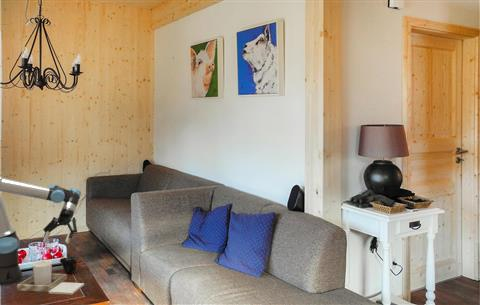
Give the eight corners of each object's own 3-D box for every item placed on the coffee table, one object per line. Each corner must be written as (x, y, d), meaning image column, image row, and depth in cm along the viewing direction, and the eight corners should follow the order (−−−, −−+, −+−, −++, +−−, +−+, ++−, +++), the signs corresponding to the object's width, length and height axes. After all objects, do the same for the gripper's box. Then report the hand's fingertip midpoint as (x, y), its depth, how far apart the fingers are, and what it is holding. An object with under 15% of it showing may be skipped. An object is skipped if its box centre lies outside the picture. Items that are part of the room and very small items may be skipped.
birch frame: (17, 290, 222) (17, 284, 221) (37, 277, 239) (37, 272, 239) (49, 291, 220) (48, 286, 219) (66, 279, 238) (66, 274, 237)
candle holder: (44, 288, 224) (44, 267, 223) (29, 287, 226) (28, 265, 225) (56, 282, 233) (55, 261, 233) (41, 280, 235) (40, 260, 235)
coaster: (48, 293, 218) (48, 291, 218) (61, 283, 230) (61, 282, 230) (72, 294, 216) (72, 292, 216) (84, 284, 229) (84, 283, 229)
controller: (71, 275, 243) (71, 259, 242) (59, 271, 250) (58, 255, 249) (78, 273, 247) (77, 257, 246) (65, 269, 253) (64, 253, 253)
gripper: (89, 214, 256) (78, 246, 242) (51, 214, 258) (38, 245, 245) (84, 208, 250) (73, 239, 237) (45, 207, 253) (32, 238, 239)
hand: (55, 242), depth 241 cm, fingers open, 13 cm apart
